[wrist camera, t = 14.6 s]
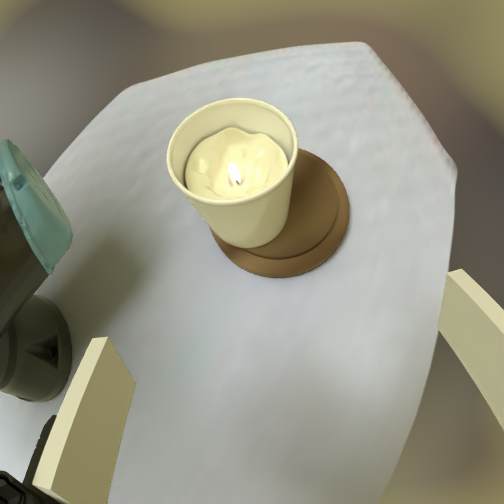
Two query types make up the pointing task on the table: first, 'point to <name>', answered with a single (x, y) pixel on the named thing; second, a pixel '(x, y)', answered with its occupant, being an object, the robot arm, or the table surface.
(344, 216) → the walnut pedestal
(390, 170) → the table surface
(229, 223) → the candle holder
